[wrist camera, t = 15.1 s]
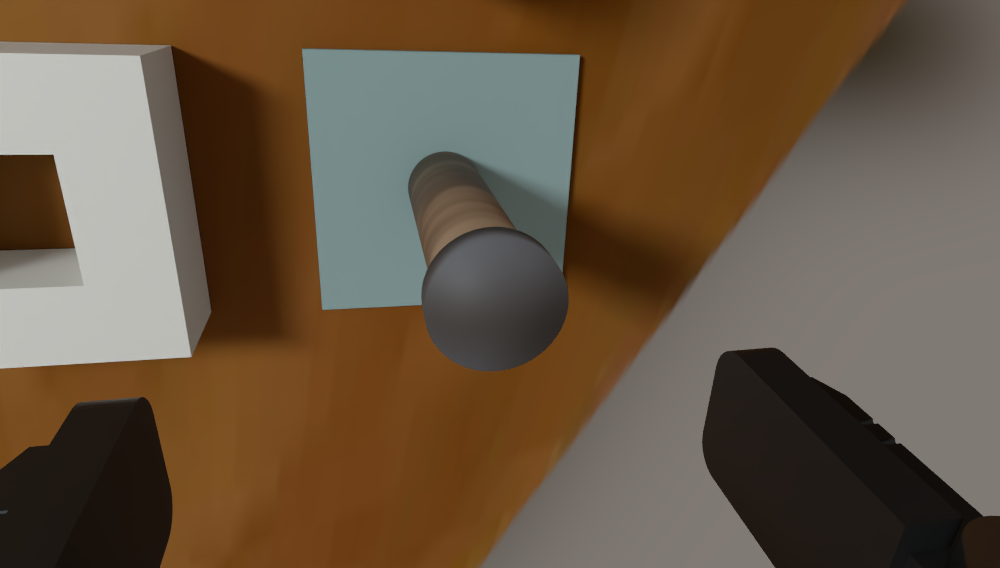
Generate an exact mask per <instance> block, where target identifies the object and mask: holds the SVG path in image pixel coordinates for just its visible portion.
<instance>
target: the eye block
mask: <svg viewBox="0 0 1000 568" xmlns="http://www.w3.org/2000/svg"><path fill="white" fill-rule="evenodd" d="M0 155H54V159H55V163H56V168H57V172H58V176H59V181H60V185H61V189H62V193H63V198H64V202H65V206H66V211H67V215H68V219H69V223H70V228H71V232H72V236H73V241H74V245H75V248H68V249H35V250H2V251H0V368H15V367H32V366H49V365H66V364H83V363H99V362H116V361H133V360H150V359H166V358H183V357H192V354H193V352H194V350H195V348H196V345H197V343H198V341H199V339H200V337H201V334H202V332H203V330H204V328H205V325H206V323H207V321H208V319H209V316H210V314H211V306H210V299H209V293H208V286H207V280H206V273H205V266H204V260H203V253H202V247H201V240H200V233H199V227H198V220H197V214H196V207H195V201H194V194H193V187H192V181H191V174H190V168H189V161H188V155H187V148H186V141H185V135H184V128H183V122H182V115H181V108H180V102H179V95H178V89H177V82H176V76H175V69H174V62H173V56H172V49H171V45H127V44H82V43H37V42H0Z"/></svg>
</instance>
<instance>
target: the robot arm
mask: <svg viewBox="0 0 1000 568" xmlns="http://www.w3.org/2000/svg"><path fill="white" fill-rule="evenodd" d="M702 444H703V453H704V458H705V462H706V465H707V468H708V470H709V472H710V474H711V476H712V477H713V479H714V480H715V482H716V483H717V485H718V486H719V487H720V489H721V490H722V492H723V493H724V495H725V496H726V497H727V499H728V500H729V502H730V503H731V505H732V506H733V508H734V509H735V510H736V512H737V513H738V515H739V516H740V518H741V519H742V521H743V522H744V523H745V525H746V526H747V528H748V529H749V531H750V532H751V533H752V535H753V536H754V538H755V539H756V541H757V542H758V544H759V545H760V546H761V548H762V549H763V551H764V552H765V554H766V555H767V556H768V558H769V559H770V561H771V562H772V564H773V565H774V566H775V568H1000V516H984V517H983V516H982V515H981V514H980V513H979V512H978V511H977V510H976V509H975V508H973V507H972V506H971V505H970V504H969V503H968V502H966V501H965V500H964V499H963V498H962V497H961V496H960V495H959V494H957V493H956V492H955V491H954V490H953V489H952V488H951V487H950V486H948V485H947V484H946V483H945V482H944V481H943V480H942V479H941V478H939V477H938V476H937V475H936V474H934V472H933V471H931V470H930V469H929V468H928V467H927V466H926V465H925V464H923V463H922V462H921V461H920V460H919V459H918V458H917V457H916V456H914V455H913V454H912V453H911V452H910V451H909V450H908V449H906V448H905V447H904V446H903V445H902V444H901V443H900V444H896V443H895V438H894V437H893V436H892V435H891V434H889V433H888V432H887V431H886V430H885V429H884V428H883V427H881V426H880V425H879V424H874V423H873V419H872V418H871V417H870V416H869V415H868V414H867V413H866V412H864V411H863V410H862V409H861V408H860V407H859V406H858V405H856V404H855V403H854V402H853V401H852V400H851V399H850V398H848V397H847V396H846V395H844V394H842V393H840V392H838V391H837V390H835V389H833V388H831V387H829V386H827V385H825V384H824V383H822V382H820V381H818V380H816V379H814V378H812V377H809V376H808V375H807V374H806V373H805V372H804V371H803V370H801V369H800V368H799V367H798V366H797V365H796V364H795V363H794V362H793V361H792V360H790V359H789V358H788V357H787V356H786V355H785V354H784V353H783V352H781V351H780V350H778V349H776V348H762V349H749V350H737V351H727V352H725V353H723V354H722V355H721V356H720V358H719V360H718V363H717V366H716V370H715V376H714V381H713V386H712V391H711V396H710V401H709V406H708V411H707V416H706V421H705V426H704V431H703V440H702ZM171 524H172V493H171V487H170V483H169V478H168V474H167V470H166V466H165V461H164V457H163V453H162V448H161V444H160V440H159V435H158V431H157V427H156V423H155V418H154V414H153V410H152V407H151V405H150V403H149V401H148V400H147V399H146V398H144V397H139V398H126V399H114V400H102V401H89V402H80V403H77V404H76V405H75V406H74V407H73V408H72V410H71V411H70V413H69V415H68V416H67V418H66V419H65V421H64V422H63V424H62V426H61V427H60V429H59V430H58V432H57V434H56V435H55V437H54V438H53V440H52V442H51V443H50V445H47V446H36V447H29V448H28V449H26V450H25V451H24V452H22V453H21V454H20V455H19V456H17V457H16V458H15V459H13V460H12V461H11V462H10V463H8V464H7V465H6V466H5V467H3V468H2V469H1V470H0V568H160V565H161V562H162V559H163V556H164V552H165V549H166V546H167V543H168V540H169V536H170V531H171Z"/></svg>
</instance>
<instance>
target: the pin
mask: <svg viewBox="0 0 1000 568" xmlns="http://www.w3.org/2000/svg"><path fill="white" fill-rule="evenodd" d="M408 194H409V198H410V202H411V206H412V210H413V214H414V218H415V222H416V226H417V230H418V234H419V238H420V242H421V246H422V250H423V254H424V258H425V262H426V266H427V271H426V274H425V277H424V279H423V284H422V291H421V300H422V308H423V313H424V318H425V322H426V326H427V330H428V332H429V335H430V337H431V339H432V341H433V342H434V344H435V345H436V346H437V348H438V349H439V350H440V351H441V352H442V353H443V354H444V355H445V356H446V357H448V358H449V359H450V360H452V361H453V362H455V363H457V364H459V365H461V366H464V367H467V368H470V369H474V370H480V371H500V370H506V369H510V368H514V367H517V366H519V365H522V364H524V363H526V362H528V361H530V360H532V359H533V358H535V357H536V356H538V355H539V354H540V353H542V352H543V351H544V350H545V349H546V348H547V347H548V346H549V345H550V344H551V343H552V342H553V340H554V339H555V338H556V336H557V335H558V333H559V331H560V330H561V328H562V325H563V323H564V321H565V318H566V314H567V309H568V288H567V284H566V280H565V278H564V275H563V273H562V271H561V269H560V268H559V266H558V265H557V263H556V262H555V260H554V259H553V258H552V256H551V255H550V254H549V252H548V251H547V250H546V249H545V247H544V246H543V245H542V244H541V243H540V242H538V241H537V240H536V239H534V238H533V237H531V236H530V235H528V234H526V233H524V232H522V231H519V230H516V228H515V227H514V225H513V223H512V222H511V220H510V219H509V217H508V216H507V214H506V213H505V211H504V210H503V208H502V207H501V205H500V204H499V202H498V201H497V199H496V198H495V196H494V195H493V193H492V192H491V190H490V189H489V187H488V186H487V184H486V183H485V181H484V180H483V178H482V177H481V175H480V174H479V172H478V171H477V169H476V168H475V166H474V165H473V164H472V162H471V161H469V160H468V159H467V158H466V157H464V156H462V155H460V154H457V153H454V152H447V151H443V152H436V153H433V154H430V155H428V156H426V157H425V158H423V159H422V160H421V161H420V162H419V163H418V164H417V165H416V166H415V167H414V169H413V171H412V173H411V175H410V178H409V182H408Z"/></svg>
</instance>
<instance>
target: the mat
mask: <svg viewBox="0 0 1000 568" xmlns="http://www.w3.org/2000/svg"><path fill="white" fill-rule="evenodd" d="M302 53H303V66H304V78H305V91H306V104H307V117H308V130H309V143H310V156H311V169H312V182H313V195H314V207H315V220H316V233H317V246H318V259H319V272H320V285H321V298H322V310H327V309H348V308H368V307H389V306H409V305H422V300H421V291H422V284H423V279H424V277H425V274H426V271H427V266H426V262H425V258H424V254H423V250H422V246H421V242H420V238H419V234H418V230H417V226H416V222H415V218H414V214H413V210H412V206H411V202H410V198H409V194H408V182H409V178H410V175H411V173H412V171H413V169H414V167H415V166H416V165H417V164H418V163H419V162H420V161H421V160H422V159H423V158H425V157H426V156H428V155H430V154H433V153H436V152H443V151H447V152H454V153H457V154H460V155H462V156H464V157H466V158H467V159H468V160H469V161H471V162H472V164H473V165H474V166H475V168H476V169H477V171H478V172H479V174H480V175H481V177H482V178H483V180H484V181H485V183H486V184H487V186H488V187H489V189H490V190H491V192H492V193H493V195H494V196H495V198H496V199H497V201H498V202H499V204H500V205H501V207H502V208H503V210H504V211H505V213H506V214H507V216H508V217H509V219H510V220H511V222H512V223H513V225H514V227H515V228H516V230H519V231H522V232H524V233H526V234H528V235H530V236H531V237H533V238H534V239H536V240H537V241H538V242H540V243H541V244H542V245H543V246H544V247H545V249H546V250H547V251H548V252H549V254H550V255H551V256H552V258H553V259H554V260H555V262H556V263H557V265H558V266H559V268H560V269H561V271H562V272H563V259H564V247H565V235H566V222H567V210H568V198H569V185H570V173H571V161H572V148H573V136H574V124H575V111H576V99H577V87H578V74H579V62H580V55H573V54H529V53H484V52H439V51H395V50H350V49H305V48H303V49H302Z"/></svg>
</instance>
